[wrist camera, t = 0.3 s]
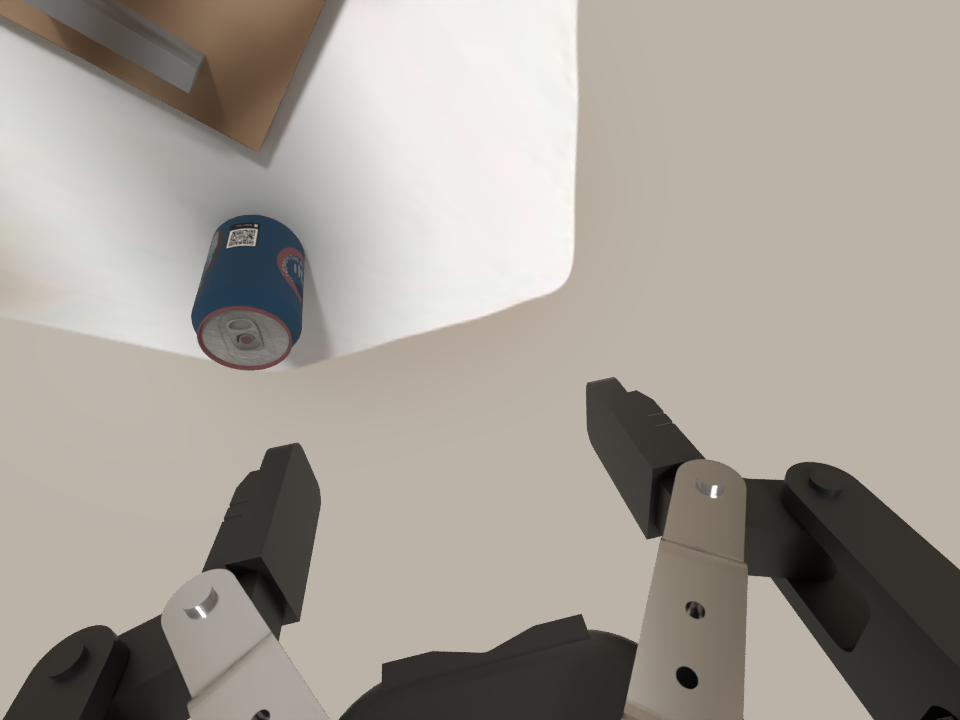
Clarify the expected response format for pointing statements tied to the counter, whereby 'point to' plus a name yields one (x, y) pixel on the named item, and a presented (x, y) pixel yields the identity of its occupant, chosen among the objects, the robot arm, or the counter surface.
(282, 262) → the soda can
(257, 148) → the keeper board
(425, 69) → the counter surface
